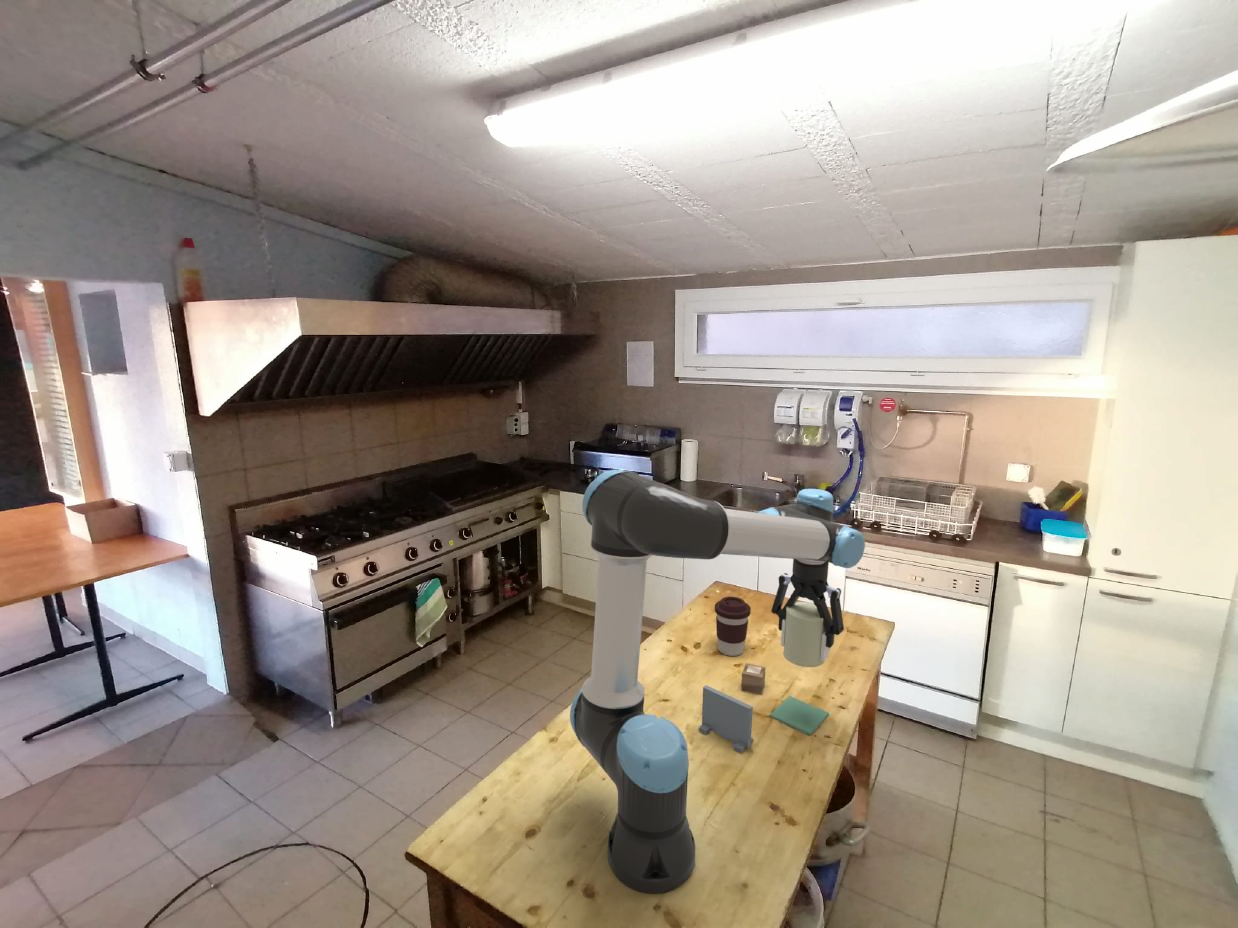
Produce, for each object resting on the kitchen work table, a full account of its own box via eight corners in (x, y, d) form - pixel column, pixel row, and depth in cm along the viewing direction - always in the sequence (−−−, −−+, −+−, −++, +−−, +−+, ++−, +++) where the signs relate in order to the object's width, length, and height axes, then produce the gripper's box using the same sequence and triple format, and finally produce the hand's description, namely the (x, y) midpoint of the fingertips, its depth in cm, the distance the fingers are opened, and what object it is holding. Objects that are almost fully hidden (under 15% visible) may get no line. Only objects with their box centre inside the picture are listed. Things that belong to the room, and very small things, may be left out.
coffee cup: (753, 647, 170) (756, 598, 167) (740, 662, 162) (743, 612, 159) (721, 637, 175) (723, 590, 172) (707, 652, 167) (709, 603, 164)
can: (827, 669, 131) (831, 619, 128) (784, 665, 133) (787, 615, 130) (822, 648, 140) (825, 601, 137) (781, 644, 141) (784, 597, 139)
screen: (743, 754, 127) (745, 713, 124) (696, 729, 134) (698, 690, 132) (755, 742, 130) (757, 702, 128) (709, 719, 138) (710, 681, 136)
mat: (810, 735, 133) (810, 733, 132) (769, 716, 139) (770, 714, 139) (828, 714, 140) (828, 712, 140) (789, 697, 146) (789, 695, 146)
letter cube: (761, 695, 148) (762, 676, 147) (741, 690, 149) (742, 672, 148) (764, 684, 152) (765, 666, 151) (745, 680, 154) (745, 662, 153)
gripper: (866, 566, 127) (857, 661, 131) (774, 542, 141) (769, 629, 146) (853, 576, 121) (844, 675, 126) (758, 551, 135) (754, 640, 140)
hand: (804, 650), depth 136 cm, fingers closed on can, 9 cm apart
